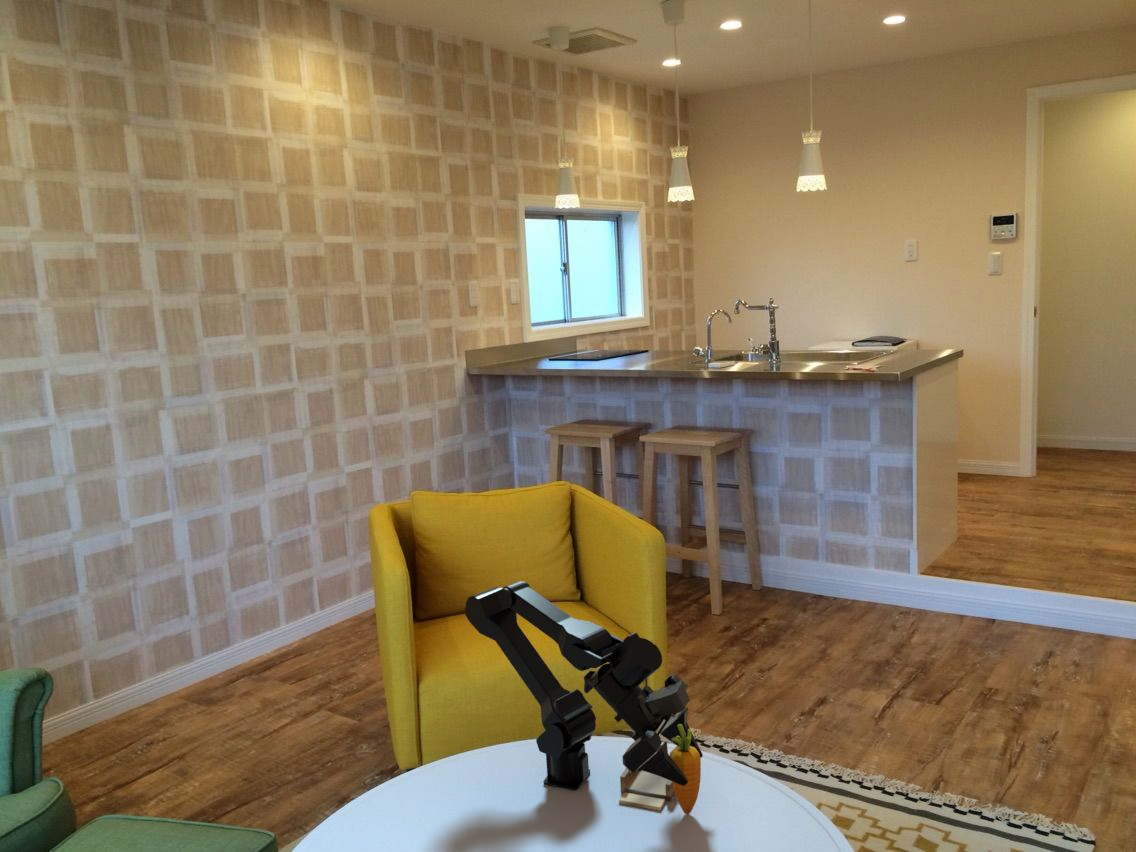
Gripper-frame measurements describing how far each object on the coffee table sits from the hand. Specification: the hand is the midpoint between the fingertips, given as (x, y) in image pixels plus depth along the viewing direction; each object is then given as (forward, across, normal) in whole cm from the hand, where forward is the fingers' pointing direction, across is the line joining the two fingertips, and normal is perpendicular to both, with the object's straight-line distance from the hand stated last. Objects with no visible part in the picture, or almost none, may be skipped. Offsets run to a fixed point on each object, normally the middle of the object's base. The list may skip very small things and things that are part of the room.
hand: (693, 770), depth 148 cm
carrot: (+5, 0, +7) cm, 8 cm away
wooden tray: (-1, +6, +12) cm, 14 cm away
